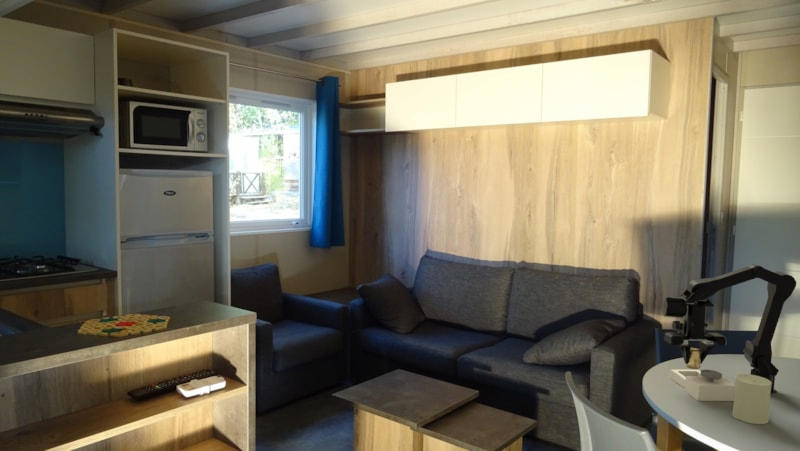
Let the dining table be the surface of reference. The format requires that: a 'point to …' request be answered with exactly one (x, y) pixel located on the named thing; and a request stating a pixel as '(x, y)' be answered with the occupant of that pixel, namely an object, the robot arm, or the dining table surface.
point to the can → (751, 399)
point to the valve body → (704, 384)
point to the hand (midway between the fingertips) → (693, 363)
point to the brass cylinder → (694, 359)
